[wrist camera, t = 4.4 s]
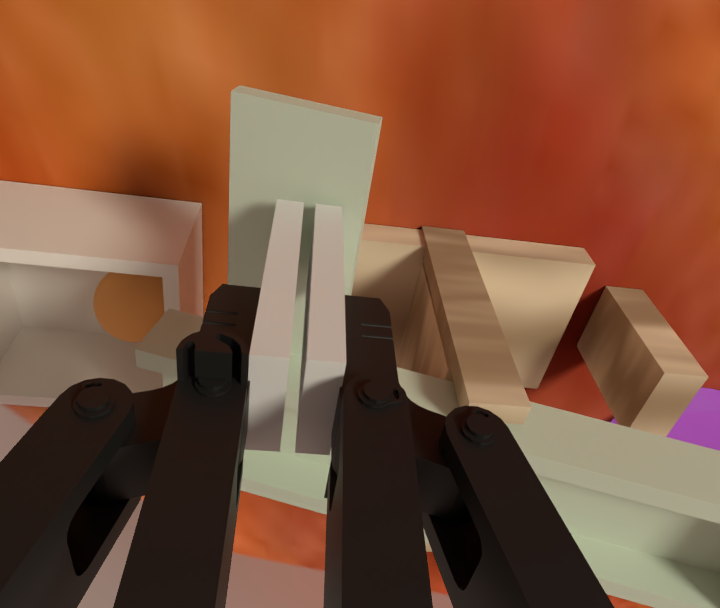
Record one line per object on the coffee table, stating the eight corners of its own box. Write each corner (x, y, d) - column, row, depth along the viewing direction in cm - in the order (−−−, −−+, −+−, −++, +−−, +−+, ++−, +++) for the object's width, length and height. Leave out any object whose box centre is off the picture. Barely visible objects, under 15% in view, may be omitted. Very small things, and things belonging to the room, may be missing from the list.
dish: (-24, 177, 24) (-94, 238, 20) (201, 203, 25) (178, 265, 21) (16, 328, 29) (-34, 401, 25) (203, 343, 30) (184, 416, 26)
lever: (157, 64, 16) (96, 91, 14) (1036, 260, 14) (1142, 330, 12) (176, 417, 24) (141, 471, 22) (725, 569, 23) (750, 645, 20)
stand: (291, 211, 26) (272, 387, 17) (662, 253, 28) (817, 428, 19) (278, 351, 31) (259, 544, 22) (594, 377, 33) (692, 562, 24)
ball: (91, 249, 25) (84, 296, 23) (175, 247, 26) (178, 292, 24) (101, 311, 27) (95, 361, 25) (178, 308, 28) (180, 355, 26)
